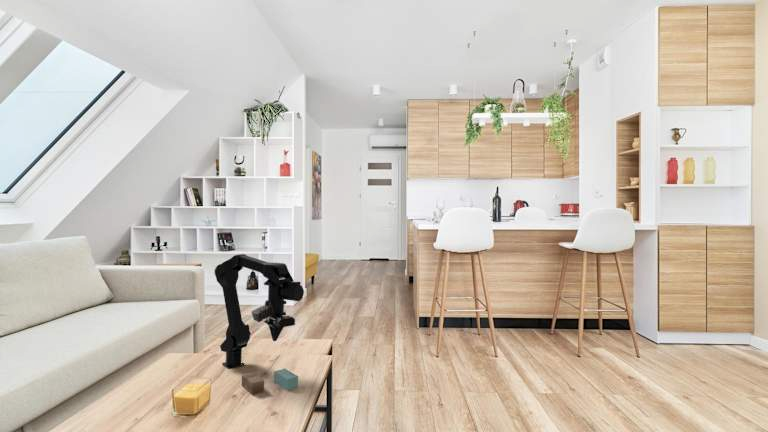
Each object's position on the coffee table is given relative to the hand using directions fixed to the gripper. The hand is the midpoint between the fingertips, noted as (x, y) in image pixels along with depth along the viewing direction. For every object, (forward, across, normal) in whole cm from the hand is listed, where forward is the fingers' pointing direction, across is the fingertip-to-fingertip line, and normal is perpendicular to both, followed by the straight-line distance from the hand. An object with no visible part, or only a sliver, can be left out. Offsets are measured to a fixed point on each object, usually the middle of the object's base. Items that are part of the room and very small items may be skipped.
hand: (274, 340), depth 147 cm
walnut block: (+10, +3, -11) cm, 15 cm away
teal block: (+10, +7, -1) cm, 12 cm away
